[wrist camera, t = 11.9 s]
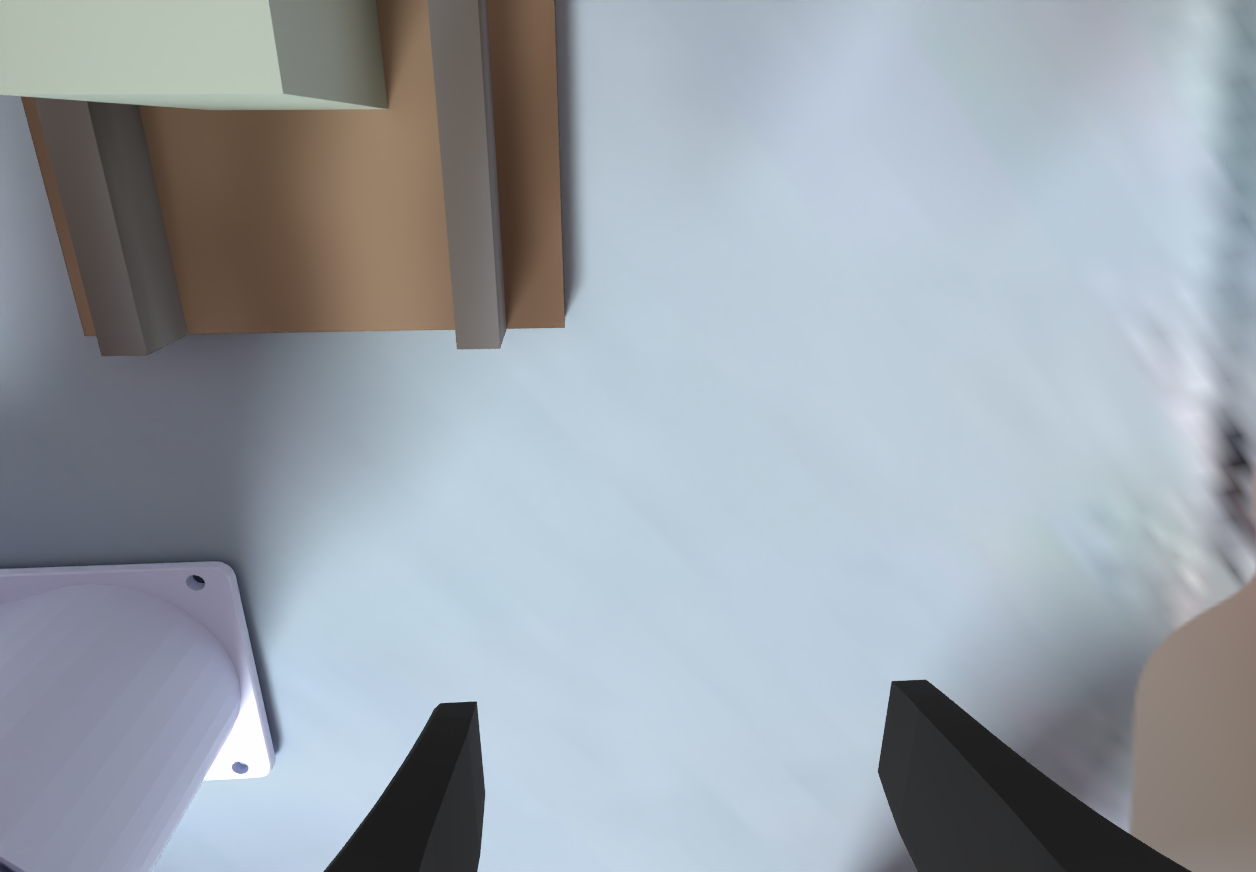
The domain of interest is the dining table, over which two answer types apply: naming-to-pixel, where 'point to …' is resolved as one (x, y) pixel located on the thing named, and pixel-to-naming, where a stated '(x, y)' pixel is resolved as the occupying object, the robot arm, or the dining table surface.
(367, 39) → the pale green block
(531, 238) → the track
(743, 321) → the dining table surface
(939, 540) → the dining table surface
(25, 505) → the dining table surface
